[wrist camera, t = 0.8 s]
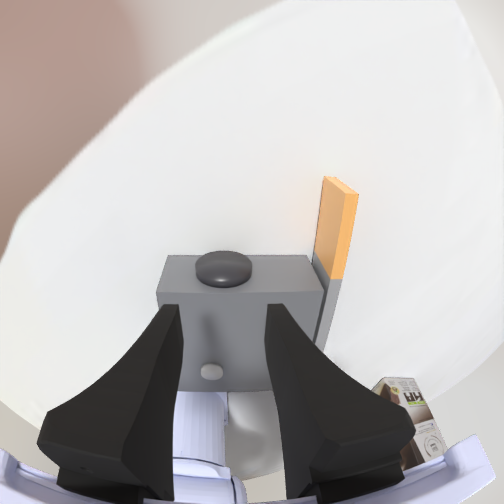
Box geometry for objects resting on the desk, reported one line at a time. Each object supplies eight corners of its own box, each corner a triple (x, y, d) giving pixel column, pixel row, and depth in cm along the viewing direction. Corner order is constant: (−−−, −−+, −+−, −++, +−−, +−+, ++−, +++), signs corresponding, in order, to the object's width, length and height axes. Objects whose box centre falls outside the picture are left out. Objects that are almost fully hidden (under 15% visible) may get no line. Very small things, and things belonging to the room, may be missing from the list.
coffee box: (381, 376, 30) (429, 489, 16) (414, 377, 32) (461, 473, 17) (342, 416, 34) (372, 516, 20) (376, 415, 35) (408, 504, 21)
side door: (304, 354, 26) (313, 385, 22) (294, 355, 26) (302, 386, 22) (336, 177, 18) (360, 194, 15) (322, 176, 18) (344, 193, 15)
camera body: (290, 350, 26) (300, 391, 22) (181, 351, 25) (176, 395, 21) (307, 247, 21) (327, 285, 17) (167, 247, 20) (153, 287, 16)
